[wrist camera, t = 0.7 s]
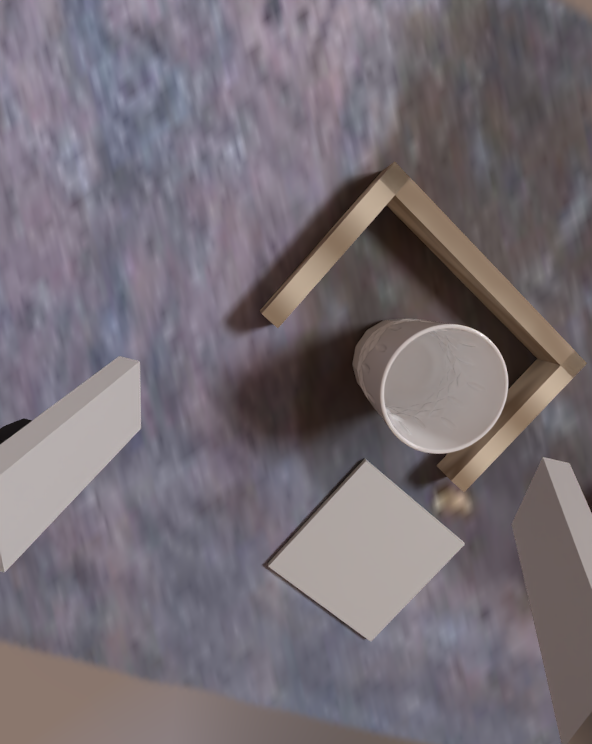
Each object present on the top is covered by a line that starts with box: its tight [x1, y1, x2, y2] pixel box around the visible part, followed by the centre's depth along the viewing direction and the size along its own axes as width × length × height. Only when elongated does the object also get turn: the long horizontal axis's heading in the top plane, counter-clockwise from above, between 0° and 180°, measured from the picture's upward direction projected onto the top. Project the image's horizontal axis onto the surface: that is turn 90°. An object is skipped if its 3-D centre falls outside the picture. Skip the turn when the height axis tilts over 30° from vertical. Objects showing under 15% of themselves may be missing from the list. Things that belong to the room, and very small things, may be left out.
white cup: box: [352, 319, 508, 454], centre depth 34 cm, size 8×8×10 cm
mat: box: [268, 459, 465, 641], centre depth 41 cm, size 12×12×1 cm
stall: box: [260, 162, 587, 492], centre depth 37 cm, size 14×21×3 cm, turn 48°
